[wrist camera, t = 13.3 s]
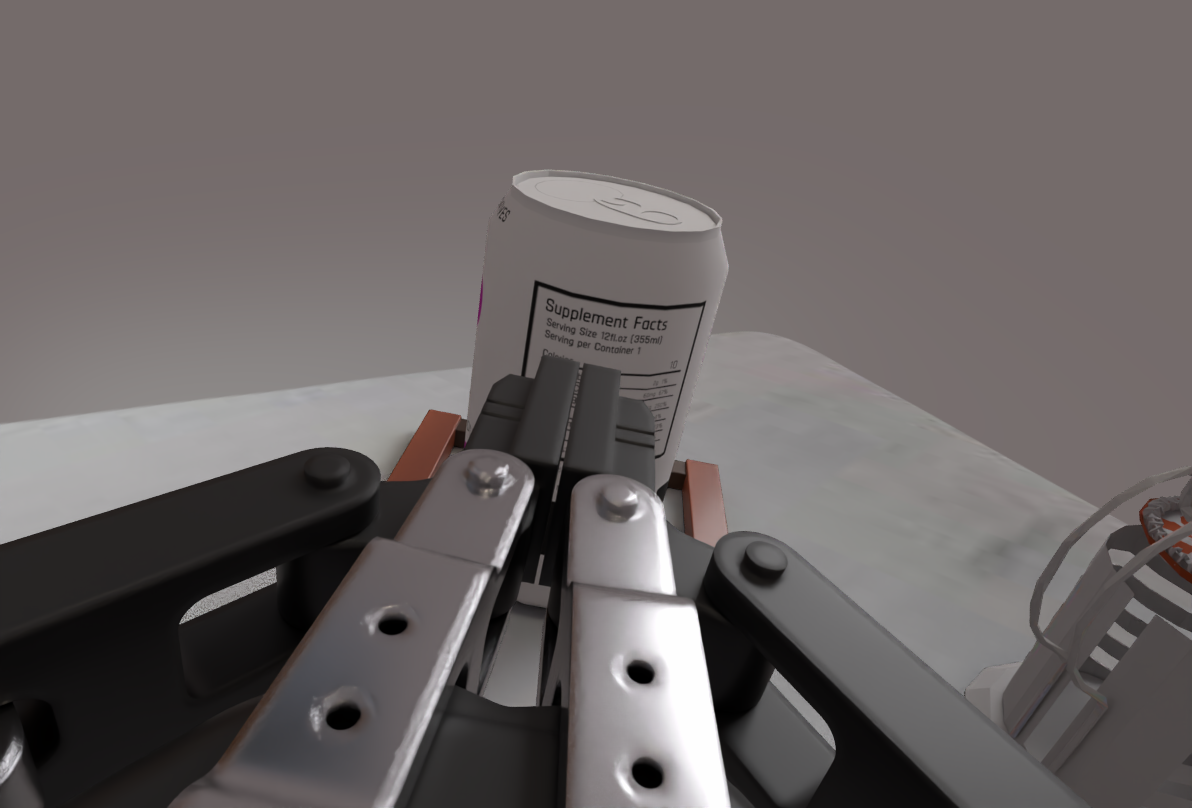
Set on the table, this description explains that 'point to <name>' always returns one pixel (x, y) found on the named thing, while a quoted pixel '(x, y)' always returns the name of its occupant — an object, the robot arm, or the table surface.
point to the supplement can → (600, 297)
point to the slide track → (690, 477)
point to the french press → (1094, 692)
